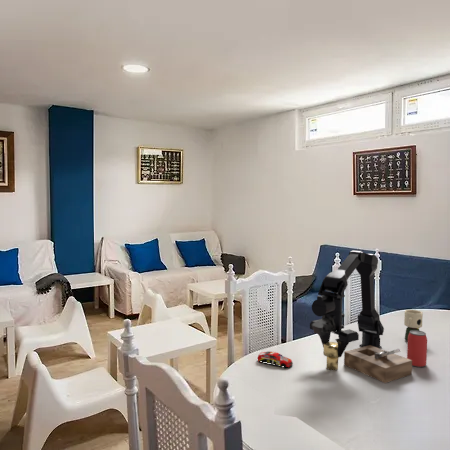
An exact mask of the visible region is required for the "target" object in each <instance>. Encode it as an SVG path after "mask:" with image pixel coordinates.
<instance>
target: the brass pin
mask: <svg viewBox="0 0 450 450" xmlns="http://www.w3.org/2000/svg"><path fill="white" fill-rule="evenodd" d="M322 354H323V356H324V357H326V367H325V368H326V369H327V370H329V371H337V370H339V358H340V357H338V343H337V341H336V342H335V341H329V342H326V343H324V348H323V353H322Z"/></svg>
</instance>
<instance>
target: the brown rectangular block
mask: <svg viewBox="0 0 450 450" xmlns="http://www.w3.org/2000/svg"><path fill="white" fill-rule="evenodd" d="M380 352H385V353H386V352H389V351H388V350H384V349H382V348H380V349H379V348H377V347H374V346H371V345H369V346H365V347H361V346H360V347H357V348H353V349H349V350H346V351H345V350H344V352H343V354H344V356H343V365H344V366H345V367H348V368H350V369H353V370H355V371H357V372H359V373H362V374H364V375H365V376H368V377H371V378H373V379H375V380H378V381H380V382H383V383H384V384H386V383H389V382H393V381H396V380H398V379H401V378H402V379H403V378H405V377H409V376H411V375H413V373H412V371H413V366H412V360H410V359H407V357H403V356H401V355H398V354H397V353H394V354H391V355H387V356H384V357H380V358H379V354H378V353H380Z"/></svg>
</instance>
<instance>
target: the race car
mask: <svg viewBox="0 0 450 450" xmlns="http://www.w3.org/2000/svg"><path fill="white" fill-rule="evenodd" d="M257 359H258V360H257V361H258V362H259V361H262V362H267V363H271V364H275V365H280V366H284V367H288V368H291V367H292V366H293V364H294V363H293V360H292V359H291V358H289V357H286V356H284V355H283V354H281V353H279V352H276V351H261V352H260V353H259V354H258V356H257ZM290 366H291V367H290Z"/></svg>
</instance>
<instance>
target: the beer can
mask: <svg viewBox="0 0 450 450" xmlns="http://www.w3.org/2000/svg"><path fill="white" fill-rule="evenodd" d="M406 348H407V350H406V351H407V352H406V358H407V359H410V360H412V367H417V368H424V367H425V366H427V360H428V359H427V357H428V356H427V355H428V338H427V333H426V332H425V331H422V330H420V331H418V330H411V331H410V333H409V335H408V340H407V347H406Z"/></svg>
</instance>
